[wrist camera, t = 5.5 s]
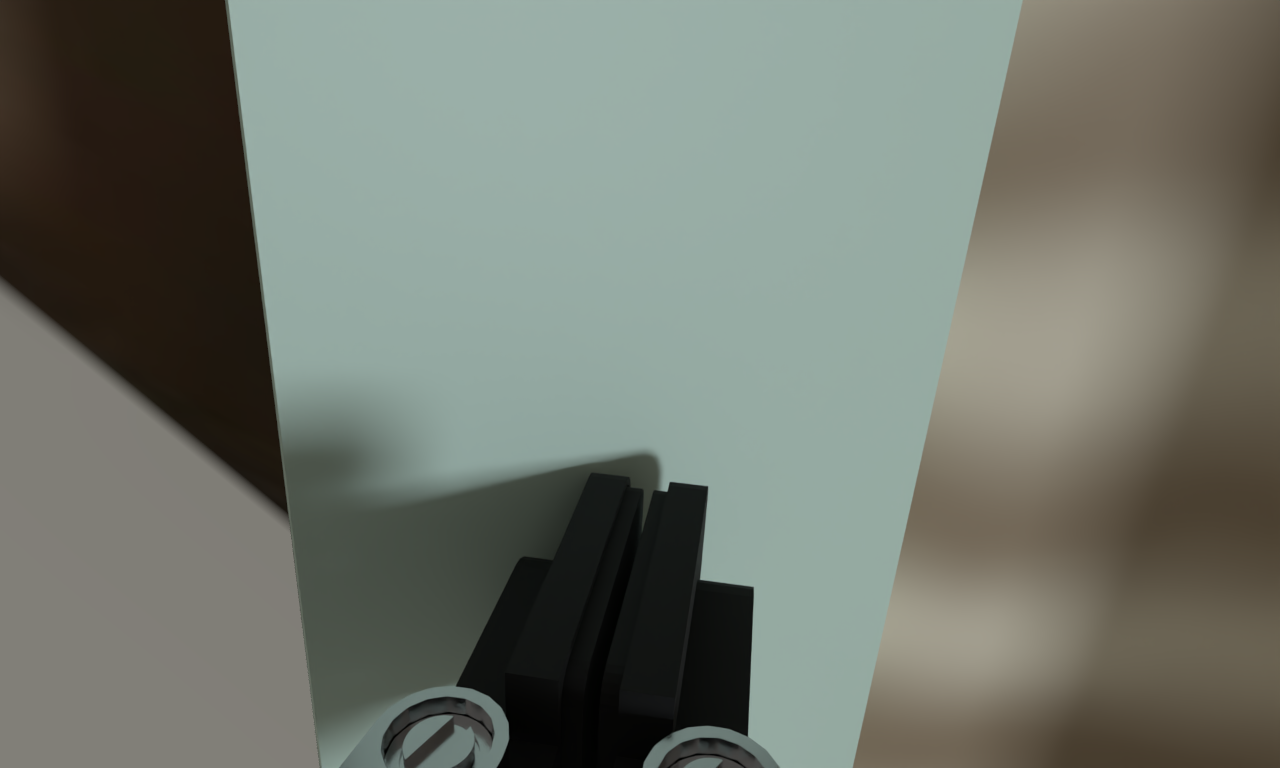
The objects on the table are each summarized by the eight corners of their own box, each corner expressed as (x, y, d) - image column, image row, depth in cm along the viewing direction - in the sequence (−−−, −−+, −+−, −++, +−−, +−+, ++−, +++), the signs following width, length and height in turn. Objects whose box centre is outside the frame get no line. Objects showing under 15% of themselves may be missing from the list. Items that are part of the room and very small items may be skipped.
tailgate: (960, -122, 12) (188, -278, 8) (1053, -138, 11) (187, -338, 6) (787, 813, 19) (347, 999, 15) (830, 870, 18) (361, 1093, 14)
